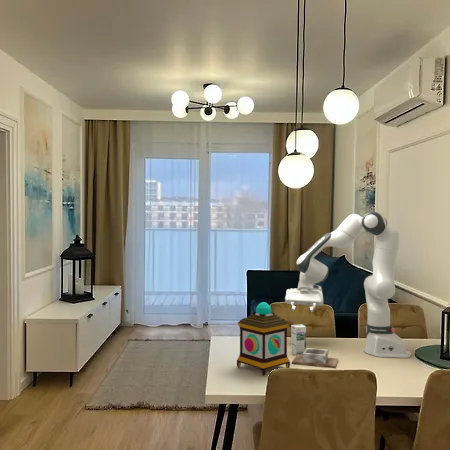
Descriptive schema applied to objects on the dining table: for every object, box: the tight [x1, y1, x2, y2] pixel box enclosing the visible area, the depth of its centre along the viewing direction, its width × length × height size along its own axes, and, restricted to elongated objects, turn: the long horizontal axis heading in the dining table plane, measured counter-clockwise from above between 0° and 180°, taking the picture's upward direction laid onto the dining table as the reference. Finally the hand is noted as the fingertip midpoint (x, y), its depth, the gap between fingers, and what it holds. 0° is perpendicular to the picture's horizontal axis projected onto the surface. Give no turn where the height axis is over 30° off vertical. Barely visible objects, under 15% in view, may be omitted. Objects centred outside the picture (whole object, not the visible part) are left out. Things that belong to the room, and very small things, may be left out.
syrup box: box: [290, 323, 307, 357], centre depth 241 cm, size 6×6×14 cm
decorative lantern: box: [236, 301, 291, 377], centre depth 217 cm, size 20×20×30 cm
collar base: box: [291, 347, 339, 369], centre depth 227 cm, size 20×13×5 cm, turn 71°
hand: (302, 310), depth 252 cm, fingers open, 8 cm apart
